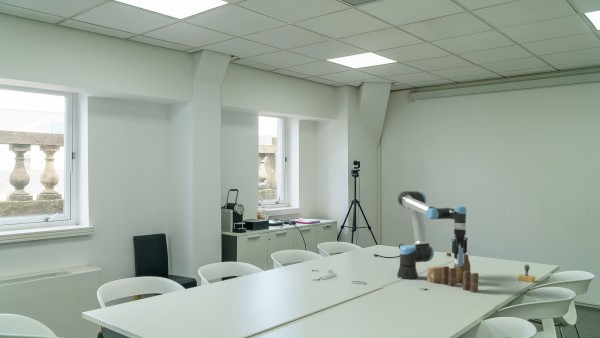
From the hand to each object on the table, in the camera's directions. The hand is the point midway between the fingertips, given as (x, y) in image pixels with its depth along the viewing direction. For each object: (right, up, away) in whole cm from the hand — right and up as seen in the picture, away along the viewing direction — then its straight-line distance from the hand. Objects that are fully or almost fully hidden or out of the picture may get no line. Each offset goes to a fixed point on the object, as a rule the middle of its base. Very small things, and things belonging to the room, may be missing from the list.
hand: (459, 263), depth 314 cm
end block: (-11, -17, +17) cm, 26 cm away
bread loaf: (+8, -17, +16) cm, 25 cm away
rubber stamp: (+59, -19, +26) cm, 67 cm away
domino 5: (+7, -17, -10) cm, 21 cm away
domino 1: (-6, -17, +10) cm, 21 cm away
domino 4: (+3, -17, -5) cm, 18 cm away
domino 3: (0, -2, 0) cm, 2 cm away
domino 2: (-3, -17, +5) cm, 18 cm away
